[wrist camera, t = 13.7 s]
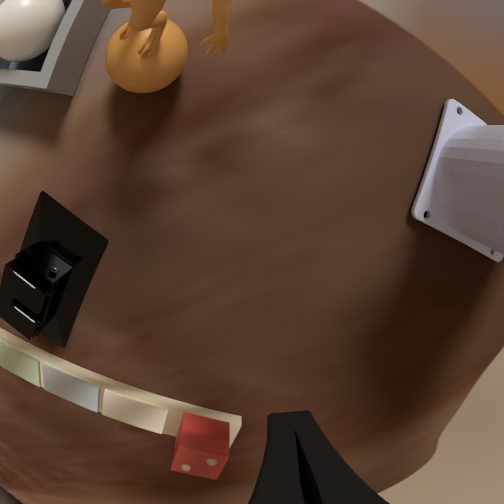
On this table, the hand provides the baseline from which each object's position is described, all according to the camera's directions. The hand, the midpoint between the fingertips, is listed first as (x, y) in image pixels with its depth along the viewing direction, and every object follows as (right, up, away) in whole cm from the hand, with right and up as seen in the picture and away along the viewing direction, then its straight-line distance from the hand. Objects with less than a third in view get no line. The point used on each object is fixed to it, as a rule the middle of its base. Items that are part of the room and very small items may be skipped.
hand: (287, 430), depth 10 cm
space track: (-12, -4, +11) cm, 16 cm away
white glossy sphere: (-13, +19, +3) cm, 23 cm away
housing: (-13, +19, +3) cm, 24 cm away
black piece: (-14, +5, +9) cm, 17 cm away
